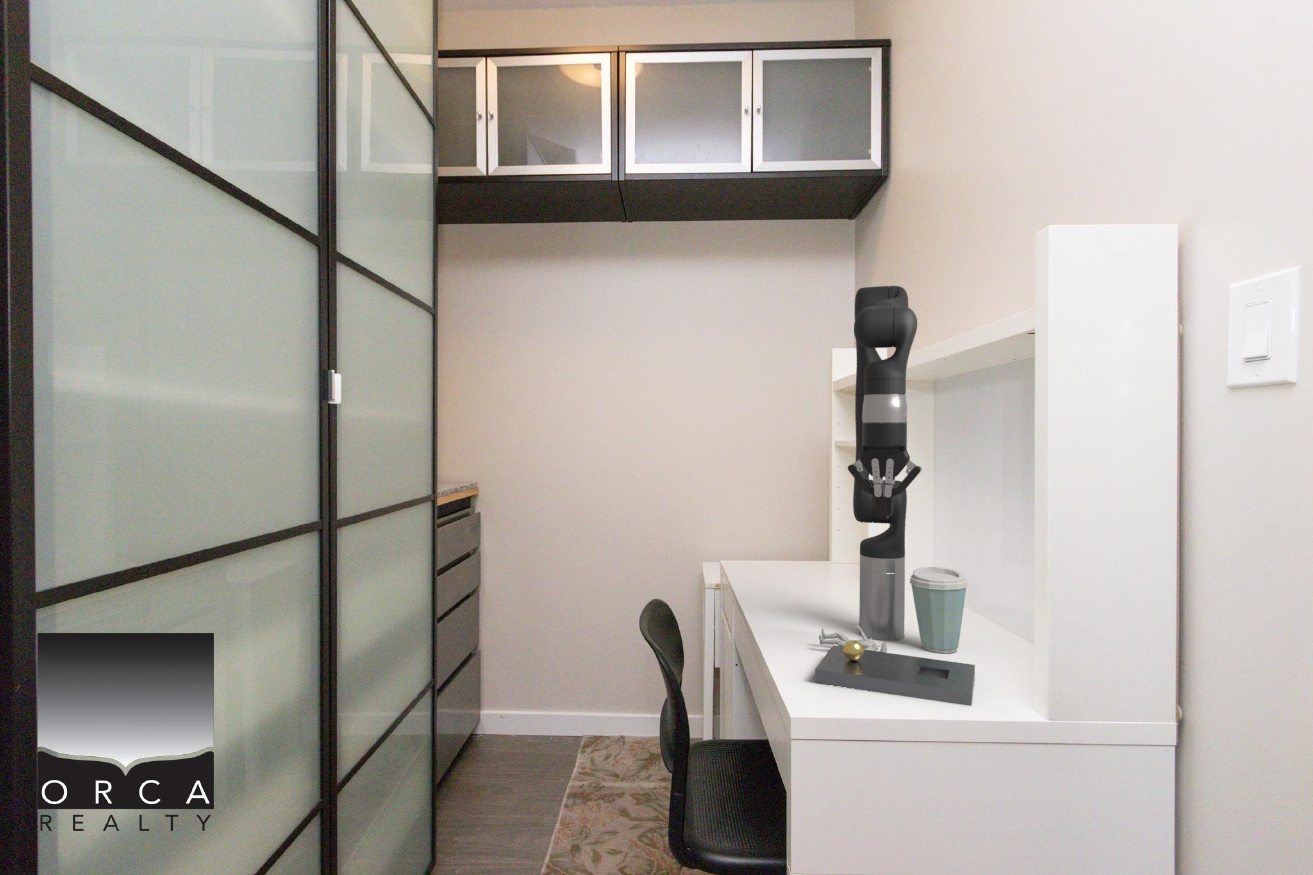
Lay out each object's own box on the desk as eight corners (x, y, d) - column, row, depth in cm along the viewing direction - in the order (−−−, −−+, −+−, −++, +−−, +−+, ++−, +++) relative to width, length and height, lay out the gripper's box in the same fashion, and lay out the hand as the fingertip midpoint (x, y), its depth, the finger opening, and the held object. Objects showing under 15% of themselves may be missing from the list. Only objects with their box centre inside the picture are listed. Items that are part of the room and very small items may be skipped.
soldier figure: (824, 621, 140) (886, 621, 135) (827, 644, 141) (890, 645, 136) (816, 638, 133) (881, 639, 128) (819, 662, 134) (885, 664, 129)
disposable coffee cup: (974, 659, 131) (975, 578, 131) (914, 655, 133) (914, 576, 132) (960, 641, 141) (960, 567, 141) (904, 638, 143) (904, 565, 143)
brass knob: (845, 656, 125) (845, 636, 125) (865, 659, 123) (865, 639, 123) (841, 662, 122) (841, 642, 122) (862, 665, 120) (862, 644, 120)
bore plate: (833, 658, 131) (833, 645, 131) (974, 679, 120) (974, 664, 120) (815, 683, 118) (815, 668, 118) (971, 709, 108) (971, 693, 108)
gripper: (926, 420, 126) (925, 517, 126) (850, 420, 131) (850, 513, 132) (922, 420, 119) (921, 523, 119) (842, 420, 125) (841, 518, 125)
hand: (883, 517), depth 126 cm, fingers closed
